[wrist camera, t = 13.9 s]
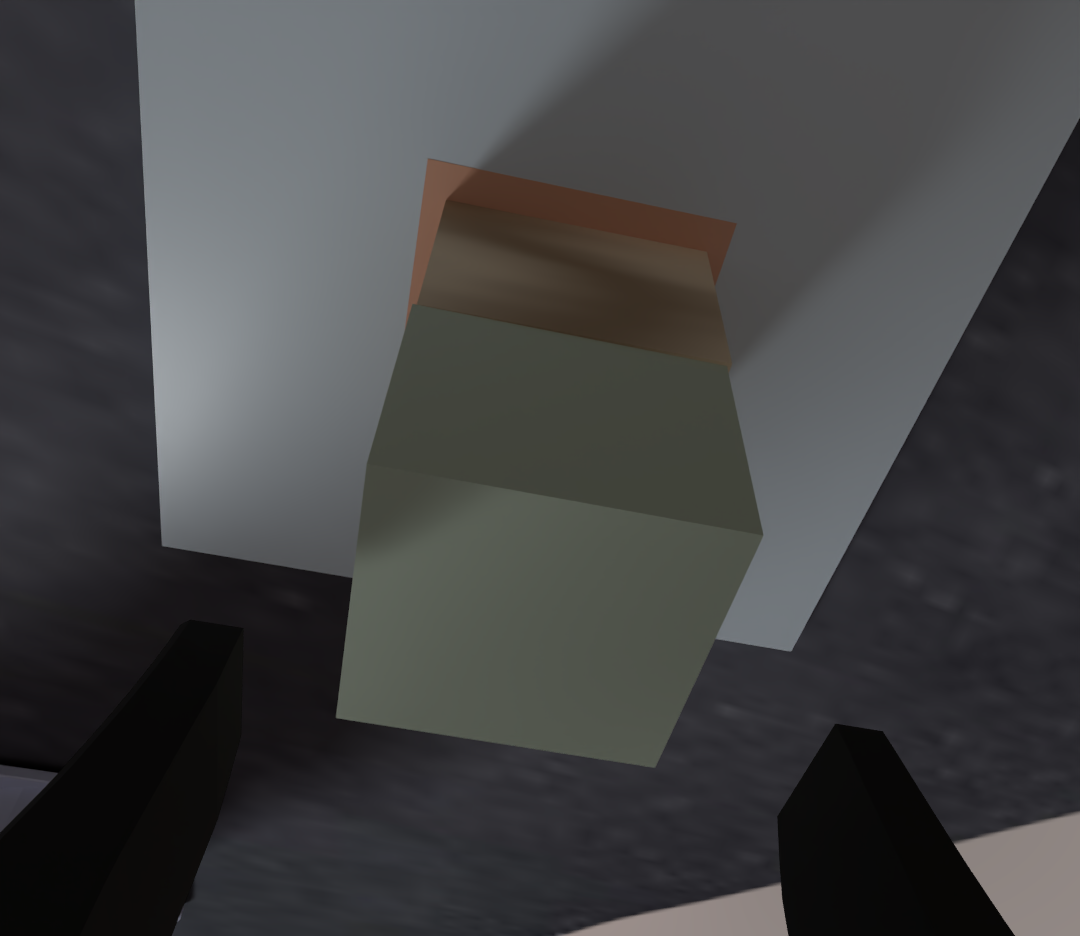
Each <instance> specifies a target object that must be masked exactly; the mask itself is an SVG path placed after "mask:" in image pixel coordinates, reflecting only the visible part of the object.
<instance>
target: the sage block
mask: <svg viewBox="0 0 1080 936" xmlns="http://www.w3.org/2000/svg"><path fill="white" fill-rule="evenodd" d="M763 536H764V535H763V530H762V526H761V521H760V517H759V512H758V507H757V503H756V498H755V493H754V489H753V484H752V480H751V475H750V470H749V466H748V461H747V457H746V452H745V447H744V443H743V438H742V433H741V429H740V424H739V420H738V415H737V410H736V406H735V401H734V397H733V392H732V387H731V383H730V378H729V373H728V369H727V366H724V365H719V364H714V363H709V362H704V361H699V360H694V359H689V358H684V357H679V356H674V355H669V354H664V353H659V352H654V351H649V350H644V349H638V348H633V347H628V346H623V345H618V344H613V343H608V342H603V341H598V340H593V339H588V338H583V337H578V336H573V335H568V334H563V333H558V332H553V331H548V330H542V329H537V328H532V327H527V326H522V325H517V324H512V323H507V322H502V321H497V320H492V319H487V318H482V317H477V316H472V315H467V314H462V313H457V312H452V311H446V310H441V309H436V308H431V307H426V306H421V305H416V304H412V307H411V311H410V314H409V318H408V321H407V325H406V328H405V332H404V335H403V339H402V342H401V346H400V349H399V353H398V356H397V360H396V363H395V367H394V370H393V374H392V377H391V381H390V384H389V388H388V391H387V394H386V398H385V401H384V405H383V408H382V412H381V415H380V419H379V422H378V426H377V429H376V433H375V436H374V440H373V443H372V447H371V450H370V454H369V457H368V461H367V465H366V474H365V482H364V490H363V498H362V506H361V515H360V523H359V531H358V539H357V548H356V556H355V564H354V572H353V581H352V589H351V597H350V605H349V613H348V622H347V630H346V638H345V646H344V655H343V663H342V671H341V679H340V687H339V696H338V704H337V712H336V718H339V719H345V720H351V721H358V722H364V723H371V724H377V725H384V726H390V727H396V728H403V729H409V730H416V731H422V732H429V733H435V734H441V735H448V736H454V737H461V738H467V739H474V740H480V741H486V742H493V743H499V744H506V745H512V746H519V747H525V748H531V749H538V750H544V751H551V752H557V753H564V754H570V755H576V756H583V757H589V758H596V759H602V760H608V761H615V762H621V763H628V764H634V765H641V766H647V767H653V768H655V767H656V765H657V762H658V760H659V758H660V756H661V754H662V752H663V750H664V747H665V745H666V743H667V741H668V739H669V737H670V735H671V732H672V730H673V728H674V726H675V724H676V722H677V720H678V718H679V715H680V713H681V711H682V709H683V707H684V705H685V703H686V700H687V698H688V696H689V694H690V692H691V690H692V688H693V685H694V683H695V681H696V679H697V677H698V675H699V673H700V670H701V668H702V666H703V664H704V662H705V660H706V658H707V656H708V653H709V651H710V649H711V647H712V645H713V643H714V641H715V638H716V636H717V634H718V632H719V630H720V628H721V626H722V623H723V621H724V619H725V617H726V615H727V613H728V611H729V608H730V606H731V604H732V602H733V600H734V598H735V596H736V594H737V591H738V589H739V587H740V585H741V583H742V581H743V579H744V576H745V574H746V572H747V570H748V568H749V566H750V564H751V561H752V559H753V557H754V555H755V553H756V551H757V549H758V546H759V544H760V542H761V540H762V538H763Z"/></svg>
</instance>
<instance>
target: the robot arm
mask: <svg viewBox="0 0 1080 936" xmlns="http://www.w3.org/2000/svg"><path fill="white" fill-rule="evenodd" d="M242 672H243V628H238V627H232V626H226V625H220V624H213V623H207V622H201V621H195V620H189V621H187V622H185V623H183V624H181V625H180V626H179V628H178V629H177V631H176V632H175V633H174V635H173V636H172V638H171V639H170V640H169V642H168V643H167V645H166V646H165V647H164V649H163V650H162V651H161V653H160V654H159V655H158V656H157V658H156V659H155V660H154V662H153V663H152V664H151V666H150V667H149V668H148V669H147V671H146V672H145V673H144V675H143V676H142V677H141V678H140V680H139V681H138V682H137V683H136V684H135V686H134V687H133V688H132V689H131V691H130V692H129V693H128V694H127V695H126V697H125V698H124V699H123V700H122V701H121V703H120V704H119V705H118V706H117V707H116V709H115V710H114V711H113V712H112V713H111V714H110V716H109V717H108V718H107V719H106V720H105V721H104V723H103V724H102V725H101V726H100V727H99V728H98V729H97V730H96V732H95V733H94V734H93V735H92V736H91V737H90V738H89V739H88V740H87V742H86V743H85V744H84V745H83V746H82V747H81V748H80V749H79V751H78V752H77V753H76V754H75V755H74V756H73V757H72V758H71V759H70V761H69V762H68V763H67V764H66V765H65V766H64V767H63V768H62V769H61V771H60V772H59V773H55V772H48V771H42V770H35V769H28V768H21V767H14V766H7V765H0V936H172V933H173V931H174V928H175V926H176V923H177V921H179V920H180V919H181V916H182V913H183V910H184V903H185V901H186V898H187V896H188V893H189V891H190V888H191V886H192V883H193V881H194V878H195V876H196V873H197V871H198V868H199V865H200V863H201V860H202V858H203V855H204V853H205V850H206V848H207V845H208V843H209V840H210V838H211V835H212V832H213V830H214V827H215V825H216V822H217V820H218V816H219V813H220V809H221V806H222V802H223V799H224V795H225V792H226V788H227V785H228V781H229V778H230V774H231V770H232V767H233V763H234V760H235V756H236V752H237V749H238V745H239V741H240V738H241V718H242ZM777 817H778V838H779V860H780V874H781V887H782V900H783V906H784V912H785V918H786V924H787V930H788V935H789V936H1015V935H1014V934H1013V932H1012V931H1011V929H1010V928H1009V927H1008V925H1007V924H1006V922H1005V921H1004V920H1003V918H1002V916H1001V915H1000V913H999V912H998V910H997V909H996V907H995V906H994V904H993V903H992V901H991V900H990V898H989V897H988V896H987V894H986V893H985V891H984V890H983V888H982V887H981V885H980V883H979V882H978V881H977V879H976V878H975V876H974V875H973V873H972V872H971V870H970V868H969V867H968V866H967V864H966V862H965V861H964V860H963V858H962V856H961V855H960V853H959V852H958V850H957V848H956V847H955V845H954V844H953V842H952V841H951V839H950V837H949V836H948V834H947V833H946V831H945V829H944V828H943V826H942V825H941V823H940V822H939V820H938V818H937V817H936V815H935V814H934V812H933V811H932V809H931V807H930V806H929V804H928V803H927V801H926V799H925V798H924V796H923V795H922V793H921V791H920V790H919V788H918V787H917V785H916V783H915V782H914V780H913V779H912V777H911V775H910V774H909V772H908V771H907V769H906V767H905V766H904V764H903V763H902V761H901V759H900V758H899V756H898V755H897V753H896V751H895V750H894V748H893V747H892V745H891V744H890V742H889V740H888V739H887V737H886V736H885V734H884V733H883V731H877V730H871V729H865V728H859V727H852V726H846V725H840V724H835V725H834V727H833V729H832V730H831V732H830V733H829V735H828V737H827V738H826V740H825V741H824V743H823V745H822V746H821V748H820V749H819V751H818V753H817V754H816V756H815V757H814V759H813V761H812V762H811V764H810V765H809V767H808V769H807V770H806V772H805V773H804V775H803V777H802V778H801V780H800V781H799V783H798V785H797V786H796V788H795V789H794V791H793V793H792V794H791V796H790V797H789V799H788V801H787V802H786V804H785V805H784V807H783V808H782V810H781V812H780V813H779V815H778V816H777Z"/></svg>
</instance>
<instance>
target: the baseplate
mask: <svg viewBox="0 0 1080 936" xmlns="http://www.w3.org/2000/svg"><path fill="white" fill-rule="evenodd" d="M135 13H136V33H137V53H138V73H139V93H140V113H141V134H142V154H143V174H144V194H145V214H146V234H147V254H148V274H149V294H150V314H151V334H152V355H153V375H154V395H155V415H156V435H157V455H158V475H159V495H160V515H161V535H162V546H165V547H171V548H177V549H183V550H189V551H195V552H201V553H207V554H213V555H219V556H225V557H231V558H237V559H243V560H249V561H255V562H261V563H267V564H273V565H279V566H285V567H291V568H297V569H302V570H308V571H314V572H320V573H326V574H332V575H338V576H344V577H350V578H353V572H354V564H355V556H356V548H357V539H358V531H359V523H360V515H361V506H362V498H363V490H364V482H365V474H366V465H367V461H368V457H369V454H370V450H371V447H372V443H373V440H374V436H375V433H376V429H377V426H378V422H379V419H380V415H381V412H382V408H383V405H384V401H385V398H386V394H387V391H388V388H389V384H390V381H391V377H392V374H393V370H394V367H395V363H396V360H397V356H398V353H399V349H400V346H401V342H402V339H403V335H404V332H405V328H406V325H407V321H408V318H409V314H410V311H411V307H412V304H416V305H417V302H418V298H419V295H420V291H421V288H422V284H423V280H424V277H425V273H426V270H427V266H428V262H429V259H430V255H431V252H432V248H433V244H434V241H435V237H436V234H437V230H438V227H439V223H440V219H441V216H442V212H443V209H444V205H445V201H446V200H450V201H455V202H460V203H465V204H470V205H475V206H480V207H485V208H490V209H495V210H500V211H505V212H510V213H515V214H520V215H525V216H530V217H535V218H540V219H545V220H550V221H555V222H560V223H565V224H570V225H575V226H580V227H586V228H591V229H596V230H601V231H606V232H611V233H616V234H621V235H626V236H631V237H636V238H641V239H646V240H651V241H656V242H661V243H666V244H671V245H676V246H681V247H686V248H691V249H696V250H701V251H706V252H707V254H708V258H709V263H710V267H711V272H712V276H713V280H714V285H715V289H716V294H717V298H718V303H719V307H720V312H721V316H722V320H723V325H724V329H725V334H726V338H727V343H728V347H729V351H730V356H731V360H732V366H731V368H730V371H729V378H730V383H731V387H732V392H733V397H734V401H735V406H736V410H737V415H738V420H739V424H740V429H741V433H742V438H743V443H744V447H745V452H746V457H747V461H748V466H749V470H750V475H751V480H752V484H753V489H754V493H755V498H756V503H757V507H758V512H759V517H760V521H761V526H762V530H763V535H764V536H763V538H762V540H761V542H760V544H759V546H758V549H757V551H756V553H755V555H754V557H753V559H752V561H751V564H750V566H749V568H748V570H747V572H746V574H745V576H744V579H743V581H742V583H741V585H740V587H739V589H738V591H737V594H736V596H735V598H734V600H733V602H732V604H731V606H730V608H729V611H728V613H727V615H726V617H725V619H724V621H723V623H722V626H721V628H720V630H719V632H718V634H717V636H716V638H715V639H720V640H726V641H732V642H738V643H744V644H749V645H755V646H761V647H767V648H773V649H779V650H785V651H792V649H793V647H794V645H795V643H796V641H797V640H798V638H799V636H800V634H801V632H802V630H803V629H804V627H805V625H806V623H807V621H808V619H809V617H810V616H811V614H812V612H813V610H814V608H815V606H816V604H817V603H818V601H819V599H820V597H821V595H822V593H823V592H824V590H825V588H826V586H827V584H828V582H829V580H830V579H831V577H832V575H833V573H834V571H835V569H836V568H837V566H838V564H839V562H840V560H841V558H842V556H843V555H844V553H845V551H846V549H847V547H848V545H849V543H850V542H851V540H852V538H853V536H854V534H855V532H856V531H857V529H858V527H859V525H860V523H861V521H862V519H863V518H864V516H865V514H866V512H867V510H868V508H869V506H870V505H871V503H872V501H873V499H874V497H875V495H876V494H877V492H878V490H879V488H880V486H881V484H882V482H883V481H884V479H885V477H886V475H887V473H888V471H889V470H890V468H891V466H892V464H893V462H894V460H895V458H896V457H897V455H898V453H899V451H900V449H901V447H902V445H903V444H904V442H905V440H906V438H907V436H908V434H909V433H910V431H911V429H912V427H913V425H914V423H915V421H916V420H917V418H918V416H919V414H920V412H921V410H922V408H923V407H924V405H925V403H926V401H927V399H928V397H929V396H930V394H931V392H932V390H933V388H934V386H935V384H936V383H937V381H938V379H939V377H940V375H941V373H942V372H943V370H944V368H945V366H946V364H947V362H948V360H949V359H950V357H951V355H952V353H953V351H954V349H955V347H956V346H957V344H958V342H959V340H960V338H961V336H962V335H963V333H964V331H965V329H966V327H967V325H968V323H969V322H970V320H971V318H972V316H973V314H974V312H975V310H976V309H977V307H978V305H979V303H980V301H981V299H982V298H983V296H984V294H985V292H986V290H987V288H988V286H989V285H990V283H991V281H992V279H993V277H994V275H995V274H996V272H997V270H998V268H999V266H1000V264H1001V262H1002V261H1003V259H1004V257H1005V255H1006V253H1007V251H1008V249H1009V248H1010V246H1011V244H1012V242H1013V240H1014V238H1015V237H1016V235H1017V233H1018V231H1019V229H1020V227H1021V225H1022V224H1023V222H1024V220H1025V218H1026V216H1027V214H1028V212H1029V211H1030V209H1031V207H1032V205H1033V203H1034V201H1035V200H1036V198H1037V196H1038V194H1039V192H1040V190H1041V188H1042V187H1043V185H1044V183H1045V181H1046V179H1047V177H1048V176H1049V174H1050V172H1051V170H1052V168H1053V166H1054V164H1055V163H1056V161H1057V159H1058V157H1059V155H1060V153H1061V151H1062V150H1063V148H1064V146H1065V144H1066V142H1067V140H1068V139H1069V137H1070V135H1071V133H1072V131H1073V129H1074V127H1075V126H1076V124H1077V122H1078V120H1079V118H1080V0H135Z"/></svg>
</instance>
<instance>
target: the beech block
mask: <svg viewBox="0 0 1080 936" xmlns="http://www.w3.org/2000/svg"><path fill="white" fill-rule="evenodd" d="M417 305H421V306H426V307H431V308H436V309H441V310H446V311H452V312H457V313H462V314H467V315H472V316H477V317H482V318H487V319H492V320H497V321H502V322H507V323H512V324H517V325H522V326H527V327H532V328H537V329H542V330H548V331H553V332H558V333H563V334H568V335H573V336H578V337H583V338H588V339H593V340H598V341H603V342H608V343H613V344H618V345H623V346H628V347H633V348H638V349H644V350H649V351H654V352H659V353H664V354H669V355H674V356H679V357H684V358H689V359H694V360H699V361H704V362H709V363H714V364H719V365H724V366H727V369H728V373H729V371H730V368H731V366H732V360H731V356H730V351H729V347H728V343H727V338H726V334H725V329H724V325H723V320H722V316H721V312H720V307H719V303H718V298H717V294H716V289H715V285H714V280H713V276H712V272H711V267H710V263H709V258H708V254H707V252H706V251H701V250H696V249H691V248H686V247H681V246H676V245H671V244H666V243H661V242H656V241H651V240H646V239H641V238H636V237H631V236H626V235H621V234H616V233H611V232H606V231H601V230H596V229H591V228H586V227H580V226H575V225H570V224H565V223H560V222H555V221H550V220H545V219H540V218H535V217H530V216H525V215H520V214H515V213H510V212H505V211H500V210H495V209H490V208H485V207H480V206H475V205H470V204H465V203H460V202H455V201H450V200H446V201H445V205H444V209H443V212H442V216H441V219H440V223H439V227H438V230H437V234H436V237H435V241H434V244H433V248H432V252H431V255H430V259H429V262H428V266H427V270H426V273H425V277H424V280H423V284H422V288H421V291H420V295H419V298H418V302H417Z"/></svg>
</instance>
